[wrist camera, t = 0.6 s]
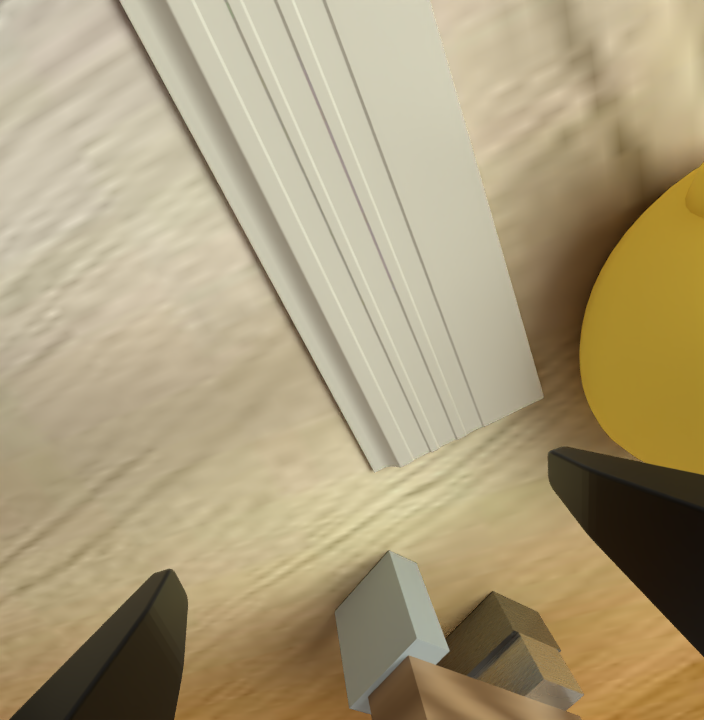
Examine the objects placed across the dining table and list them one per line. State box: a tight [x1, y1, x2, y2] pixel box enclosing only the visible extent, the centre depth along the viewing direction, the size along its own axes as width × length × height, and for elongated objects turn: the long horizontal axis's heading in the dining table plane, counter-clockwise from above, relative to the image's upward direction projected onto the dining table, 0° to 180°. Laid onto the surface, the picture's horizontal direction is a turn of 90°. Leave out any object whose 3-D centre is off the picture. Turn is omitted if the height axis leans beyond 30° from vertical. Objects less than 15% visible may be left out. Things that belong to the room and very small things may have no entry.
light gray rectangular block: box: [335, 551, 450, 714], centre depth 27 cm, size 2×6×6 cm, turn 143°
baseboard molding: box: [119, 0, 544, 473], centre depth 19 cm, size 31×3×12 cm
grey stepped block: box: [436, 592, 584, 711], centre depth 31 cm, size 5×7×6 cm
